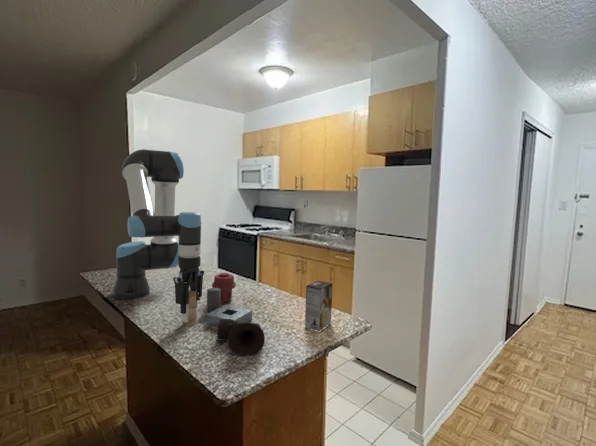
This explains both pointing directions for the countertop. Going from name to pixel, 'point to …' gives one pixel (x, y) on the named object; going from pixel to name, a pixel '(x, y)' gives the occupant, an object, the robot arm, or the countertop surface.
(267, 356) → the countertop surface
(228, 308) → the socket block
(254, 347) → the pipe
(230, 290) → the mechanical component
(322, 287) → the coffee box
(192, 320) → the oak peg
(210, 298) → the gray capsule
